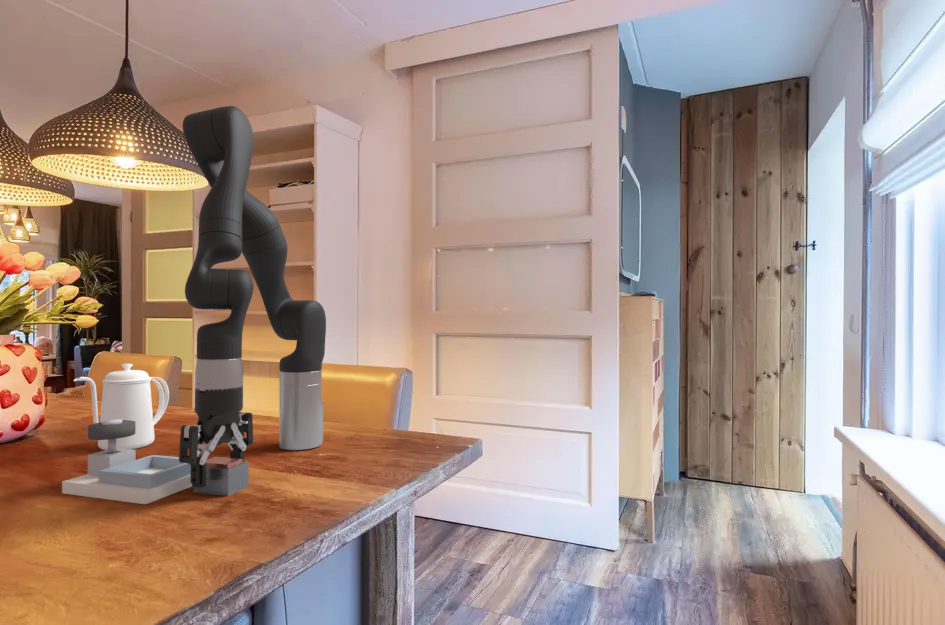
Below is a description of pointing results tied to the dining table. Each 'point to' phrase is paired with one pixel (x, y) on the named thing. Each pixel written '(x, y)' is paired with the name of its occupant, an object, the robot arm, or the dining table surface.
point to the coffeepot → (129, 404)
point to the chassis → (130, 477)
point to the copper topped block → (224, 476)
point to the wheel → (111, 431)
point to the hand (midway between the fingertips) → (218, 479)
